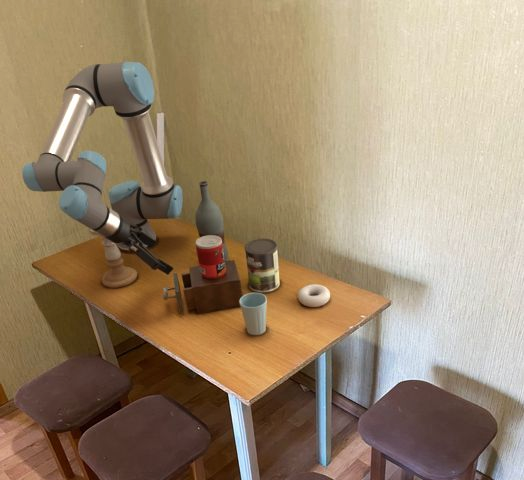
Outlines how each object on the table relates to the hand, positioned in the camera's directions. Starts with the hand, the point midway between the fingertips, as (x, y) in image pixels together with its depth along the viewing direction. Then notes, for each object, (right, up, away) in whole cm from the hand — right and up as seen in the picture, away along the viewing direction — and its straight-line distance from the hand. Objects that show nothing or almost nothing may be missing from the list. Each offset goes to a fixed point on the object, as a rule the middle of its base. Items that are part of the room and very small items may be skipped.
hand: (161, 257), depth 164 cm
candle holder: (-19, -4, +21) cm, 28 cm away
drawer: (+9, -13, +4) cm, 17 cm away
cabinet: (+17, -12, +5) cm, 22 cm away
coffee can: (+32, -7, +9) cm, 34 cm away
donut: (+47, -13, 0) cm, 49 cm away
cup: (+30, -23, -10) cm, 39 cm away
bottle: (+15, +1, +22) cm, 27 cm away
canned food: (+16, -5, -1) cm, 17 cm away
